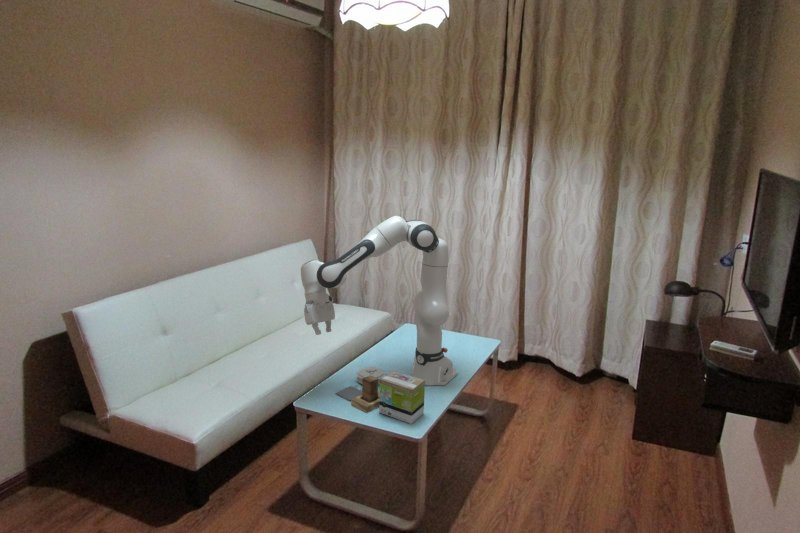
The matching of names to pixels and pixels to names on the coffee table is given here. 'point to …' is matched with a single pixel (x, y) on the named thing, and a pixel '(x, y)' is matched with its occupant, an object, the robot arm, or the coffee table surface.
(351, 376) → the coffee table surface
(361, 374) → the grey round disc
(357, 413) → the coffee table surface
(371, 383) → the walnut block
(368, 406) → the pocket board
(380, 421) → the coffee table surface
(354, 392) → the rubber pad
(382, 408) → the tea box
